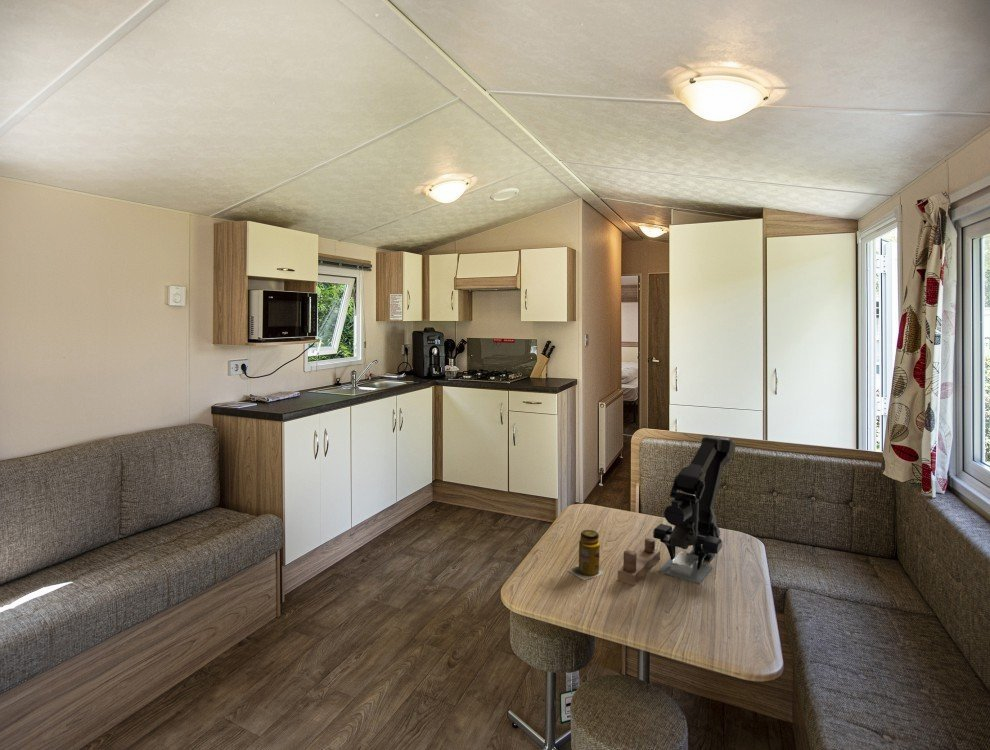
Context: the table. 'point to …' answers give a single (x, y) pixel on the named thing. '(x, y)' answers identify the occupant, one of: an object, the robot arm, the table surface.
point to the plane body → (638, 563)
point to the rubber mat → (696, 577)
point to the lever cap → (684, 564)
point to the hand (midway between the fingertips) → (685, 565)
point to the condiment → (588, 556)
